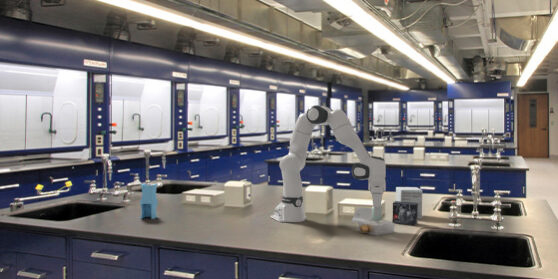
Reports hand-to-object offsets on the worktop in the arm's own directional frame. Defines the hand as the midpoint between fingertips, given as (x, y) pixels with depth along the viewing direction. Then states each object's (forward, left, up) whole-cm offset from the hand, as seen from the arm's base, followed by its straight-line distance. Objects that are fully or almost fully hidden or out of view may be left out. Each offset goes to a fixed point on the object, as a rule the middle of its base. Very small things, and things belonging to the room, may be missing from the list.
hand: (376, 213), depth 240 cm
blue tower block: (-98, -90, -10) cm, 133 cm away
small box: (-6, +29, -10) cm, 31 cm away
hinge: (-18, +11, -10) cm, 24 cm away
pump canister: (0, 0, -3) cm, 3 cm away
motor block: (0, -2, -10) cm, 10 cm away
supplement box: (-18, +46, -10) cm, 50 cm away
